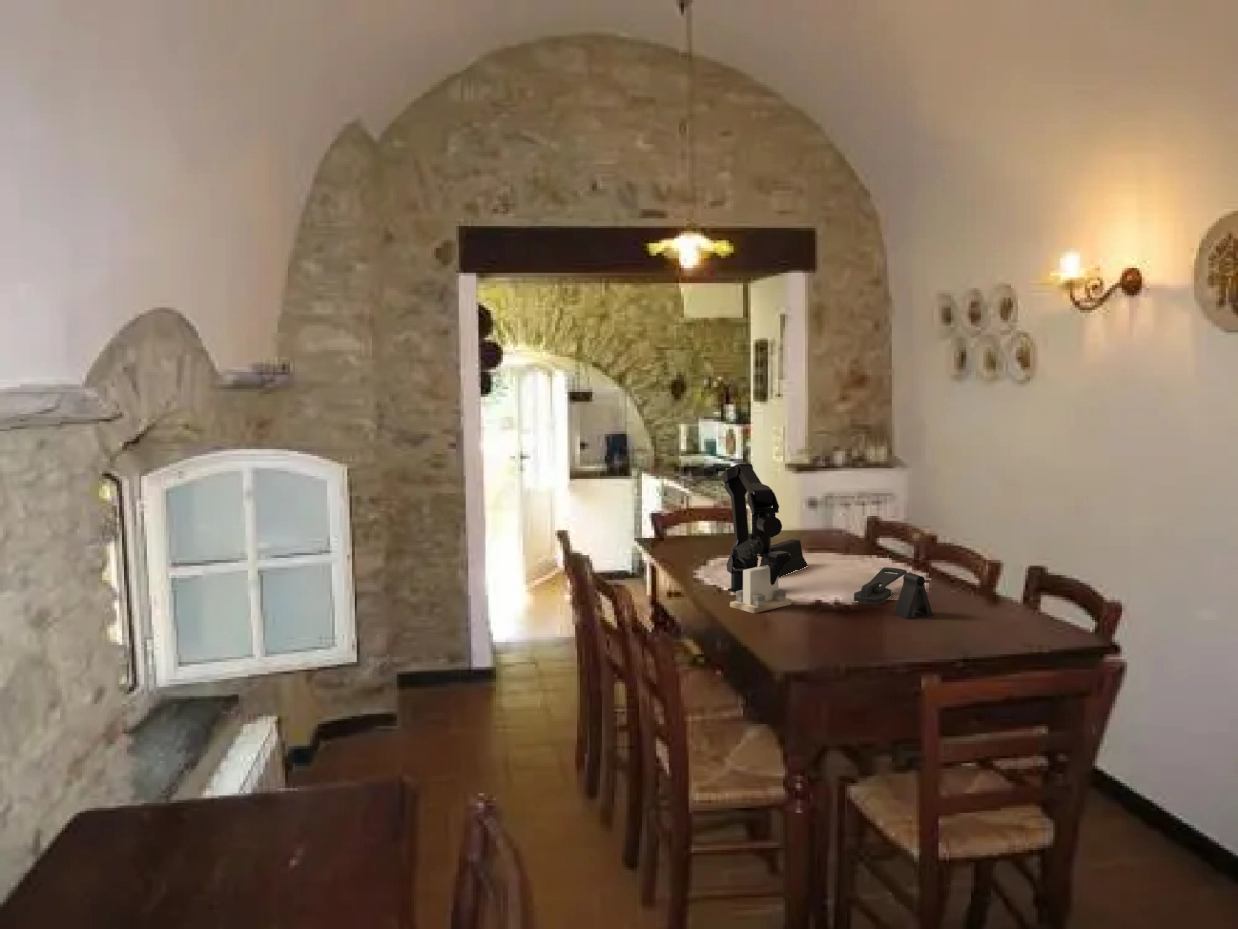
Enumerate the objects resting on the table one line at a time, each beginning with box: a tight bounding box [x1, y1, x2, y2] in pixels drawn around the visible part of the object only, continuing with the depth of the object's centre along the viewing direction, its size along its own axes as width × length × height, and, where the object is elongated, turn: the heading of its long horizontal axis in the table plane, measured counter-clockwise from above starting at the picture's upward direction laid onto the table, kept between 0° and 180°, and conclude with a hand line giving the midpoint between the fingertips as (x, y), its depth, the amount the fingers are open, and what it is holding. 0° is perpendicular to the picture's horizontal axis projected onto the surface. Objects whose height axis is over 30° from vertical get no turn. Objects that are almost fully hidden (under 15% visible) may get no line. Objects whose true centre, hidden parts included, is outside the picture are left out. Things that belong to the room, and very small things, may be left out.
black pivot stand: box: [893, 571, 934, 620], centre depth 280 cm, size 9×6×12 cm, turn 109°
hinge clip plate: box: [729, 589, 792, 614], centre depth 293 cm, size 10×16×4 cm, turn 128°
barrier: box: [758, 538, 809, 578], centre depth 339 cm, size 24×9×10 cm, turn 141°
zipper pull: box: [853, 566, 908, 606], centre depth 304 cm, size 9×7×25 cm
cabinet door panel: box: [743, 565, 779, 605], centre depth 293 cm, size 3×12×10 cm, turn 128°
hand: (761, 582), depth 293 cm, fingers open, 9 cm apart
